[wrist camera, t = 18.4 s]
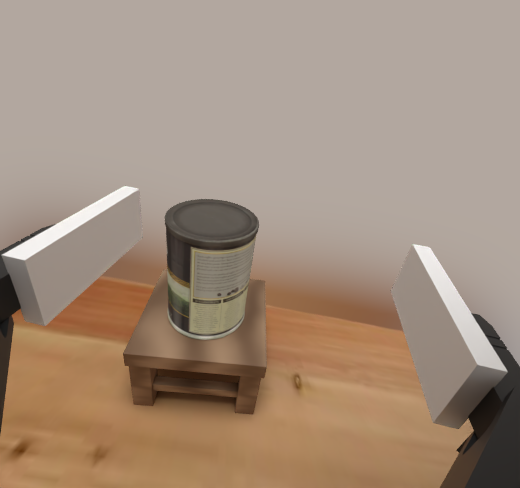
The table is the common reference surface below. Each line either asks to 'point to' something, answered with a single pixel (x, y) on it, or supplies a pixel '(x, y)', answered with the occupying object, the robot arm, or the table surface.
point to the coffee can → (208, 266)
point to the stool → (198, 352)
